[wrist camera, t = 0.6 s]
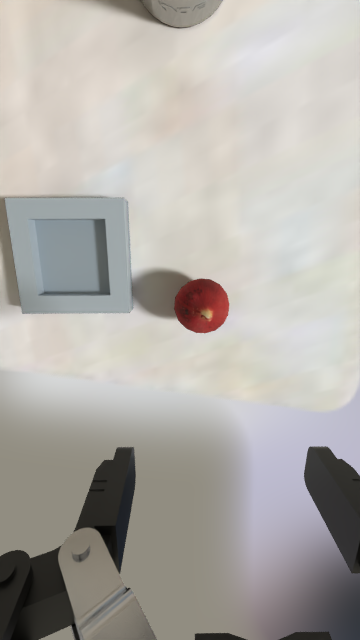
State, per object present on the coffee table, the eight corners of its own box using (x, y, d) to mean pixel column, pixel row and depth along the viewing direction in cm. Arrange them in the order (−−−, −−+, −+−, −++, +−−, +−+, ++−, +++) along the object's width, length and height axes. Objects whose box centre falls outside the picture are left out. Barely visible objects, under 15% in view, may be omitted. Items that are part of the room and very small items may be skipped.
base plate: (18, 202, 30) (4, 197, 27) (127, 201, 30) (123, 197, 27) (33, 308, 33) (22, 313, 30) (132, 308, 33) (129, 312, 30)
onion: (172, 320, 33) (171, 342, 26) (177, 273, 32) (177, 281, 24) (219, 324, 34) (232, 347, 26) (226, 278, 32) (241, 287, 24)
